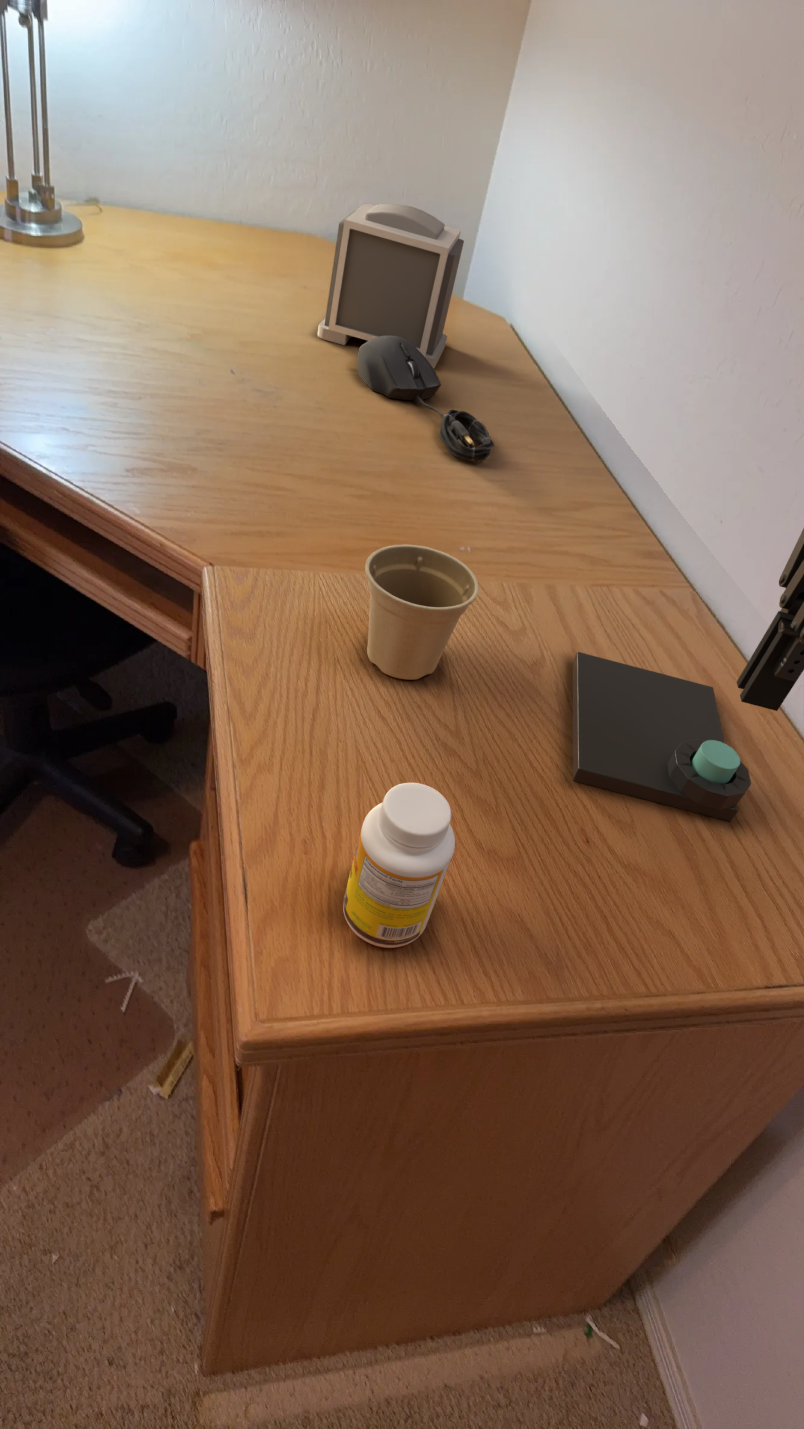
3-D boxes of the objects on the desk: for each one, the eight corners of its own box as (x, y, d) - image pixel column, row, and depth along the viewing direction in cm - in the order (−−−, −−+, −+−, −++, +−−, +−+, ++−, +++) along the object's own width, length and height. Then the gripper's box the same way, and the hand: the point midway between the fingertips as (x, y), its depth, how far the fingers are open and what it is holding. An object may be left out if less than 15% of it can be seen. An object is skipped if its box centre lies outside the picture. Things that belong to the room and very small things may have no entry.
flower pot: (334, 627, 78) (350, 543, 72) (430, 623, 81) (452, 542, 76) (368, 697, 71) (388, 611, 66) (470, 688, 75) (498, 606, 70)
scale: (738, 829, 69) (756, 803, 67) (572, 785, 69) (585, 758, 67) (712, 699, 82) (726, 675, 80) (572, 662, 81) (583, 637, 79)
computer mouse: (394, 361, 131) (402, 323, 127) (514, 464, 112) (527, 424, 108) (338, 360, 126) (344, 321, 123) (453, 468, 107) (464, 426, 104)
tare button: (733, 788, 68) (743, 773, 67) (693, 778, 68) (703, 762, 67) (727, 761, 71) (737, 745, 70) (689, 751, 71) (698, 735, 70)
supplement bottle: (378, 865, 59) (410, 757, 52) (443, 916, 57) (485, 810, 50) (322, 912, 55) (349, 802, 48) (389, 969, 53) (427, 862, 46)
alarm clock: (445, 344, 142) (475, 219, 130) (433, 370, 131) (464, 237, 120) (336, 313, 142) (356, 185, 130) (315, 336, 132) (334, 200, 120)
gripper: (856, 327, 55) (697, 630, 70) (926, 408, 44) (719, 745, 59) (971, 359, 55) (787, 654, 70) (1069, 447, 44) (826, 773, 59)
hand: (756, 695), depth 64 cm, fingers closed
